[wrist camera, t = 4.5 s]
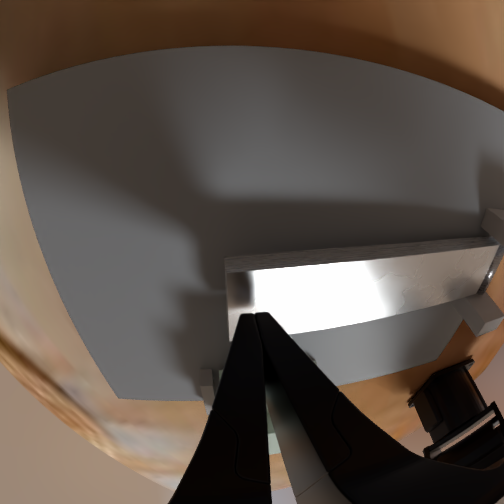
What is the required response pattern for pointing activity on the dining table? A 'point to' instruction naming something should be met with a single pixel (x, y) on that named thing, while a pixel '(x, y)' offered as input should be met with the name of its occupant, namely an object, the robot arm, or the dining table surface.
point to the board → (245, 198)
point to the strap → (357, 281)
